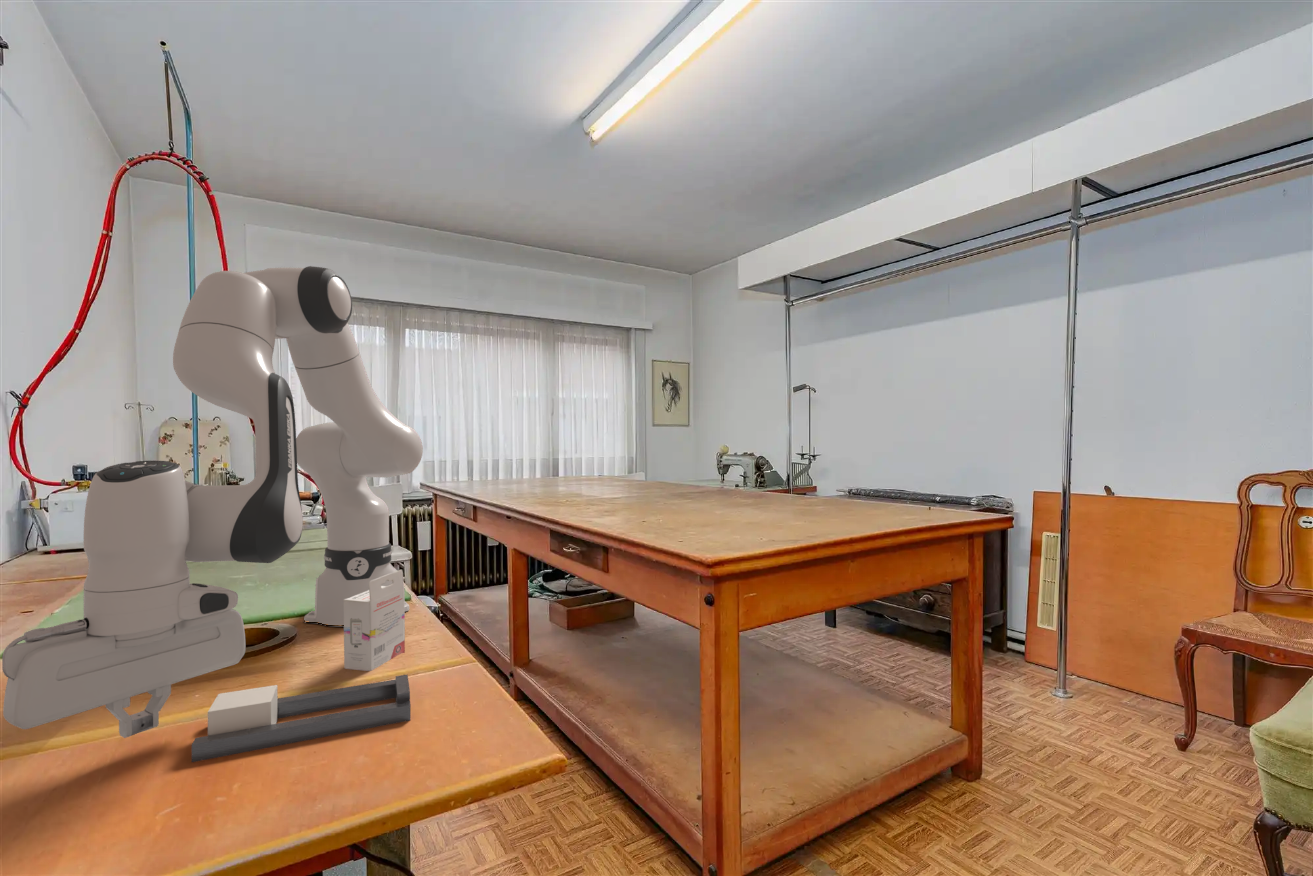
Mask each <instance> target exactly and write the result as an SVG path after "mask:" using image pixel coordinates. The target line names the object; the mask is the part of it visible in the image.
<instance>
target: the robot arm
mask: <svg viewBox="0 0 1313 876" xmlns="http://www.w3.org/2000/svg"><path fill="white" fill-rule="evenodd" d="M352 299H353V298H352V295H351V292H350V289H349V287H348V285H347V283H346V282H345V280H344V279H343V278H342V277H341V276H340V275H338V273H337V272H336V271H334V270H333V269H331V268H326V267H323V266H322V267H321V266H320V267H319V266H313V265H310V266H305V267H291V266H290V267H269V268H264V269H260V270H253V271H248V272H247V271H246V272H240V271H234V270H220V271H215V272H213V273H211V274H209V275H207V276H205V277H204V278H203V279H202V280H201V281H200V283H199V285H198V286H197V288H196V289H195V291H194V293H193V295H192V296H191V299H190V300H189V302H188V305H187V307H186V310H185V311H184V314H183V317H182V319H181V323H180V326H179V329H178V332H177V336H176V340H175V343H174V348H173V354H172V364H173V365H172V366H173V370H174V372H175V374H176V376H177V378H178V380H179V381H180V382H181V383H182V385H184V387H185V388H186V389H188V390H189V391H190V392H192V393H193V394H194V395H195V396H197V397H199V398H200V399H202V400H204V401H206V402H208V403H210V404H212V405H215V406H217V407H219V408H220V407H221V408H223V409H226V410H229V411H231V412H235V413H237V414H240V415H242V416H245V417H247V418H250V419H251V420H252V421H253V424H254V435H255V436H254V439H255V441H254V443H255V444H254V445H255V448H254V449H255V476H254V478H253V479H252V480H251V481H250V482H248V483H246V484H238V485H236V484H233V485H232V484H230V485H229V484H228V485H223V484H222V485H203V484H194V483H192V482H191V481H190V482H189V481H187V480H185V475H184V470H183V468H182V467H181V465H180V464H179V463H176V462H171V461H169V460H139V461H138V460H137V461H133V462H121V463H117V464H113V465H109V466H107V467H104V468H102V469H101V470H98V471H97V472H96V473H95V474H94V475H93V477H92V479H91V483H90V485H89V488H88V492H87V495H86V502H85V509H84V516H83V517H84V518H83V551H84V552H85V555H86V557H87V561H88V569H87V571H88V572H87V574H86V577H85V580H84V582H83V618H82V619H78V620H73V621H67V622H64V623H60V624H57V625H53V626H49V627H40V628H34V629H31V630H28V631H26V632H24V633H23V635H22V636H20V637H17V638H15V639H14V640H13V641H11V642H10V643H9V644H8V645H7V646H6V647H5V648H4V651H3V653H2V658H1V660H2V662H1V663H2V673H3V675H4V676H6V678H7V682H6V685H5V691H4V692H5V693H4V699H3V709H2V715H3V718H4V720H5V721H6V722H7V723H9V724H10V725H13V726H14V727H16V728H19V729H21V730H28V729H32V728H35V727H38V726H41V725H44V724H48V723H51V722H54V721H58V720H61V719H65V718H67V717H71V716H73V715H77V714H80V713H83V712H86V711H87V712H88V711H89V710H90V711H91V710H93V709H97V708H99V707H102V706H105V709H107V710H108V711H109V712H110V713H111V715H113V717H115V718H116V720H117V721H118V732H119V735H120V737H122V738H124V739H126V738H130V737H131V736H135V735H137V734H140V733H143V732H146V731H150V730H152V729H154V728H157V727H158V726H159V722H160V721H159V719H160V718H159V715H160V713H159V712H161V710H162V709H163V708H164V705H165V704H166V702H167V700H168V699H169V697H170V696H171V694H172V685H173V684H176V683H180V682H183V681H186V680H189V679H193V678H195V677H199V676H203V675H205V674H209V673H212V672H215V671H218V670H221V669H224V668H228V667H231V666H234V665H236V664H239V663H240V661H241V659H242V658H243V657H244V656H245V653H246V633H245V626H244V625H245V624H244V620H243V617H242V614H241V613H240V612H239V611H238V610H236V609H235V608H236V607H237V606H238V602H239V595H238V593H237V591H234V590H232V589H229V588H227V587H222V586H219V585H213V584H204V583H190V581H191V580H190V579H191V578H190V570H189V567H188V564H187V562H193V563H204V562H205V563H207V562H208V563H210V562H213V563H214V562H234V561H236V562H237V563H256V564H271V563H274V562H275V561H277V560H278V559H280V558H282V557H283V556H284V555H286V554H287V553H288V552H290V550H292V549H293V548H294V547H295V546H296V545H297V544H298V543H299V541H300V539H301V537H302V533H303V526H304V525H303V524H304V522H303V521H304V518H303V508H302V501H301V496H300V495H301V494H300V488H299V476H298V474H299V473H298V467H299V468H301V469H302V470H303V471H304V472H305V473H307V474H308V475H309V476H310V477H311V479H312V480H313V481H314V483H315V484H316V487H317V488H318V490H319V492H320V494H321V497H322V500H323V503H324V507H325V513H326V515H325V516H326V533H327V534H326V535H327V536H326V539H327V542H326V543H327V547H325V549H324V555H323V559H324V567H325V569H324V571H322V572H321V574H320V575H319V576H318V577H316V579H315V594H314V595H315V596H314V608H315V611H311V610H310V611H311V612H310V611H309V612H308V613H306V614H305V615H304V617H303V621H304V620H305V621H309V622H319V623H322V624H328V625H344V603H343V600H344V599H347V598H350V597H353V596H355V595H358V594H360V593H363V592H366V591H368V590H369V581H371V580H374V579H377V578H379V577H381V576H384V575H387V574H390V573H393V572H396V571H398V570H397V568H395V567H394V566H393V565H392V563H391V561H392V553H393V551H392V544H391V543H390V542H389V541H390V510H389V509H390V508H389V507H388V505H387V503H386V501H384V500H383V499H382V498H380V497H379V496H377V495H376V494H375V493H374V492H373V491H372V489H371V488H370V486H369V484H368V481H367V478H385V479H386V478H393V477H399V476H403V475H407V474H411V473H412V472H414V471H415V470H416V469H417V467H418V466H419V465H420V462H421V460H422V457H423V453H424V448H423V442H422V438H421V437H420V435H419V433H418V432H417V431H416V430H415V429H414V428H413V427H412V426H409V425H407V424H405V423H404V422H403V421H401V420H400V419H398V418H397V417H396V416H395V415H394V414H392V412H391V411H390V410H389V409H388V408H387V407H386V406H385V405H384V403H383V402H382V401H381V399H380V398H379V397H378V396H377V394H376V391H375V390H374V388H373V386H372V384H371V382H370V379H369V377H368V373H367V371H366V368H365V364H364V362H363V359H362V356H361V354H360V350H359V348H358V343H357V342H356V339H355V336H354V334H353V332H352V330H351V328H350V327H351V326H349V321H350V318H351V316H352V314H353V313H352V312H353V301H352ZM277 339H279V340H280V339H286V343H287V347H288V350H289V353H290V357H291V360H292V365H293V366H294V368H295V371H296V374H297V377H298V380H299V382H300V384H301V387H302V390H303V392H304V395H305V398H306V400H307V402H308V404H309V405H310V406H311V408H313V409H314V410H315V411H316V412H319V413H320V414H322V415H324V416H326V417H327V418H329V419H330V420H331V422H325V423H324V422H323V423H319V424H315V425H310V426H308V427H305V428H303V429H302V430H301V431H300V432H299V433H298V434H297V429H296V415H295V413H296V412H295V404H294V397H293V394H292V390H291V388H290V386H289V383H288V382H287V380H286V379H285V377H282V376H280V375H278V374H277V373H276V371H275V369H274V365H273V356H274V355H273V354H274V350H275V343H276V340H277ZM332 421H333V422H332ZM391 584H392V580H391V581H388V580H386V581H385V583H383V584H381V586H389V585H391ZM409 611H410V604H409V603H408V602H407V601H405V612H409ZM322 624H321V625H322ZM22 641H23V642H22ZM145 693H148V694H149V695H151V697H150V699H149V700H148V701H147V704H146V706H145V707H144V710H141V711H138V712H136V713H133V714H129V713H128V712H127V711H126V708H128V707H130V706H131V698H133V697H135V696H138V695H140V694H145Z"/></svg>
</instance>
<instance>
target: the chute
mask: <svg viewBox="0 0 1313 876" xmlns="http://www.w3.org/2000/svg"><path fill="white" fill-rule="evenodd" d="M409 683H410V682H409V675H408V674H403V675H396V676H395V679H390V680H384V681H378V682H373V683H372V682H370V683H364V684H359V685H353V686H347V687H341V688H335V689H334V688H333V689H327V690H323V691H316V692H315V691H314V692H309V693H304V694H303V693H302V694H296V695H292V696H291V695H290V696H285V697H279V698H278V697H277V720H278V719H283V718H287V717H288V718H289V717H294V716H300V715H306V714H312V713H317V712H323V711H329V710H334V709H335V710H336V709H341V708H346V707H351V706H358V705H362V704H368V703H374V702H380V701H386V700H390V699H392V700H393V699H395V702H391V703H386V704H380V705H374V706H368V707H364V708H363V707H362V708H357V709H352V710H346V711H340V712H334V713H329V714H323V715H317V716H313V717H307V718H302V719H301V718H300V719H295V720H290V721H284V722H279V723H278V722H277V723H276V724H272V725H266V726H260V727H255V728H249V729H244V730H238V731H232V732H227V733H221V734H215V735H210V736H208V735H205V736H200V737H199V736H198V737H195V738H194V740H192V741H193V742H192V744H191V763H195V762H199V761H201V762H202V761H205V760H211V759H217V758H221V757H226V756H232V755H237V754H241V753H242V754H243V753H246V752H247V753H248V752H253V751H259V750H264V749H268V748H273V747H278V746H284V745H289V744H296V743H301V742H305V741H310V740H315V739H316V740H317V739H321V738H325V737H333V736H335V735H342V734H347V733H352V732H356V731H357V732H358V731H362V730H367V729H372V728H373V729H374V728H378V727H383V726H389V725H394V724H398V723H399V724H400V723H403V722H404V723H405V722H410V721H411V713H412V712H411V709H412V708H411V691H410V684H409Z"/></svg>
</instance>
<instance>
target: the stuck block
mask: <svg viewBox="0 0 1313 876" xmlns="http://www.w3.org/2000/svg"><path fill="white" fill-rule="evenodd" d="M277 699H278V684H275V685H267V686H261V687H260V686H259V687H254V688H247V689H242V690H241V689H240V690H235V691H228V692H221V693H218V694H217V695H216V698H215V699H214V701H213V702H212V703H211V706H210V708H209V709H208V711H207V736H210V735H215V734H221V733H227V732H232V731H238V730H244V729H249V728H255V727H260V726H266V725H272V724H277V723H278V719H277Z"/></svg>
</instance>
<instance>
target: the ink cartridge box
mask: <svg viewBox="0 0 1313 876" xmlns="http://www.w3.org/2000/svg"><path fill="white" fill-rule="evenodd" d="M386 580H388V581H391V580H392V584H391V585H389V586H381V584H383V583H385V581H386ZM404 581H405V580H404V573H403V569H399V570H397V571H396V572H393V573H390V574H387V575H384V576H381V577H379V578H377V579H374V580H371V581H369V590H368V591H366V592H363V593H360V594H358V595H355V596H353V597H350V598H347V599H344V600H343V603H344V626H343V656H344V657H343V658H344V660H343V661H344V662H343V664H344V665H343V667H344V668H343V669H344V670H345V669H347V670H355V671H356V670H357V671H364V672H371V671H374V670H375V669H377V668H379V667H381V666H382V665H383V664H385V663H387V662H388V661H390V660H392V659H393V658H396V657H397V656H399V655H401V654H405V652H406V651H405V649H406V645H405V644H406V641H405V639H406V636H405V634H406V633H405V630H406V626H405V625H406V624H405V622H406V619H405V616H406V613H405V612H406V611H405V602H406V601H405V599H406V598H405V595H406V594H405V584H404Z"/></svg>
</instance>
